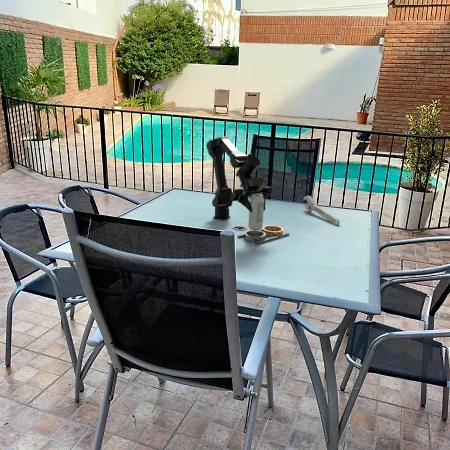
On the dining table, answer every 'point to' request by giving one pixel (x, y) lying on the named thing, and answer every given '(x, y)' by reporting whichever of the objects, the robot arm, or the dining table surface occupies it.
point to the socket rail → (263, 234)
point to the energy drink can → (256, 212)
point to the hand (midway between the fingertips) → (258, 210)
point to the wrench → (320, 211)
